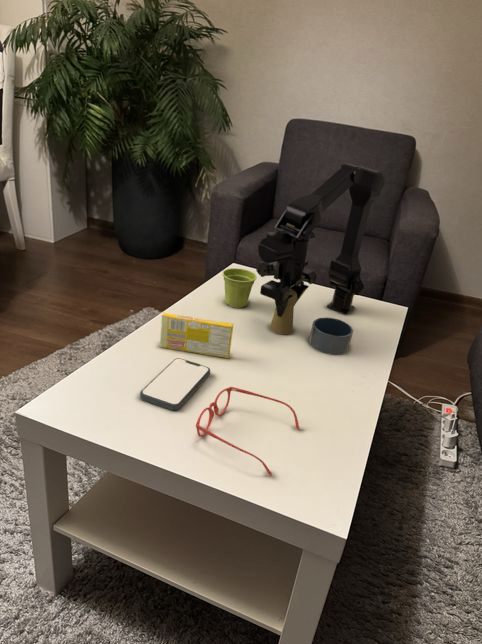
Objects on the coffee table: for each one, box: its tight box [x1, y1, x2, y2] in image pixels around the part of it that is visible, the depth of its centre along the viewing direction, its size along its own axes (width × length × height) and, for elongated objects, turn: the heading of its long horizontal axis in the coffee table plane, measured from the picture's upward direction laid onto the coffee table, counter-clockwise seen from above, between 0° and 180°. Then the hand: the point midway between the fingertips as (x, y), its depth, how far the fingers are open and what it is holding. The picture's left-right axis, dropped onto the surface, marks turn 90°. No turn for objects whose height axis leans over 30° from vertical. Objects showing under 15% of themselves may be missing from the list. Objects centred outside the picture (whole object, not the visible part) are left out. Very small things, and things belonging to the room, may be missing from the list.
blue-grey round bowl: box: [308, 317, 354, 355], centre depth 135 cm, size 10×10×5 cm
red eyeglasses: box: [195, 386, 300, 476], centre depth 99 cm, size 17×16×5 cm
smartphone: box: [139, 357, 211, 411], centre depth 111 cm, size 9×2×16 cm
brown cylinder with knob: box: [269, 289, 297, 335], centre depth 138 cm, size 6×6×11 cm
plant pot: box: [221, 267, 258, 309], centre depth 148 cm, size 9×9×9 cm
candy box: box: [159, 312, 234, 359], centre depth 122 cm, size 16×2×8 cm, turn 84°
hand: (284, 313), depth 138 cm, fingers closed on brown cylinder with knob, 4 cm apart
